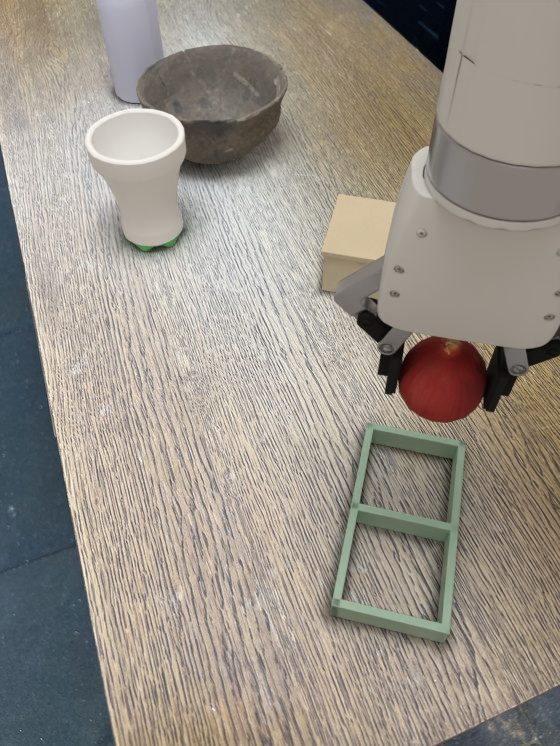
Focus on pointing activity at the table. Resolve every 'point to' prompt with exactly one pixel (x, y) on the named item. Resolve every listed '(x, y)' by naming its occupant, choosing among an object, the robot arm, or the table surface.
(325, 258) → the beige rectangular box
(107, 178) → the cup
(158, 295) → the table surface
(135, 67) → the soap bottle
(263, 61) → the bowl
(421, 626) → the green rectangular frame
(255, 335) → the table surface
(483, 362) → the red pomegranate
